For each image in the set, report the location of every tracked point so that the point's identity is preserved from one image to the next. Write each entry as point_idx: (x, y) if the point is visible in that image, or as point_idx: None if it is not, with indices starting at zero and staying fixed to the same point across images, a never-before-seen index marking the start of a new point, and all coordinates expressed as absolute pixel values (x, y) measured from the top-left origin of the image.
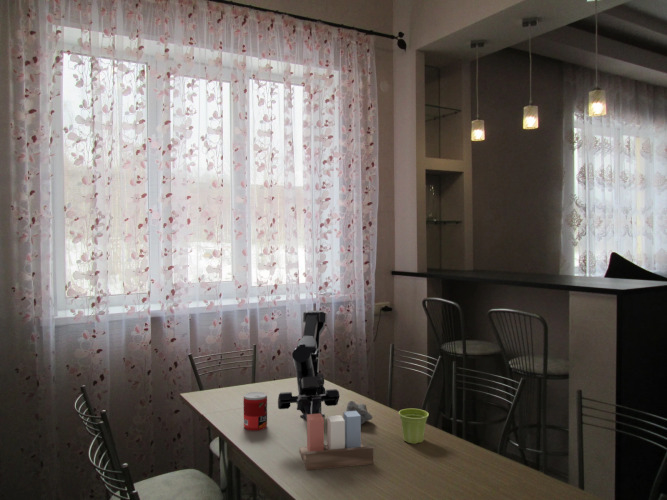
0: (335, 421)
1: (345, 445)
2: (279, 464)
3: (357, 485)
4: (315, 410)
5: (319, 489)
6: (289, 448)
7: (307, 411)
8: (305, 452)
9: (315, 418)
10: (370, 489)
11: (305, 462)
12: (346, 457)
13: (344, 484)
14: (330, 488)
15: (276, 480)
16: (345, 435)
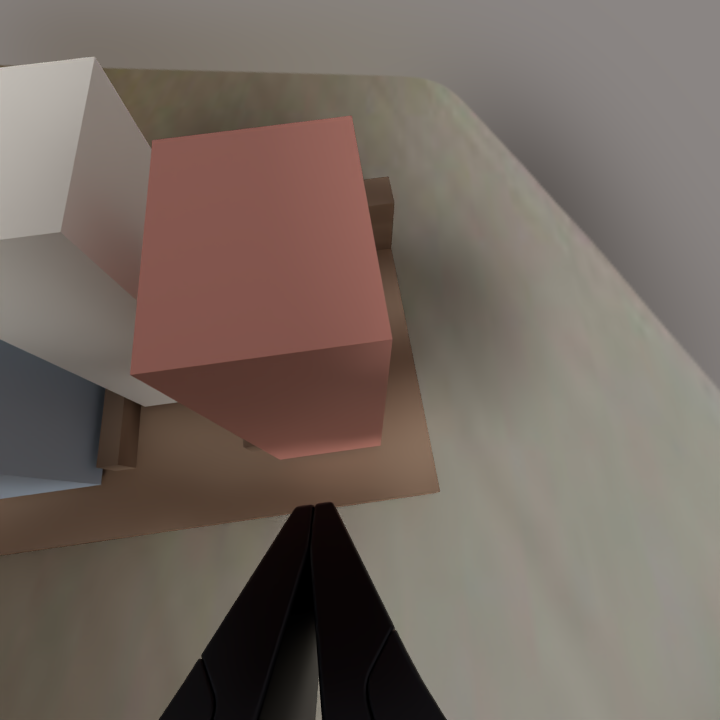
0: (37, 64)
1: (95, 416)
2: (539, 317)
3: (187, 119)
4: (174, 701)
5: (338, 101)
6: (516, 583)
7: (378, 660)
8: (392, 386)
9: (266, 156)
10: (150, 95)
11: (392, 258)
12: None
13: (235, 127)
14: (295, 105)
15: (520, 165)
16: (33, 392)
